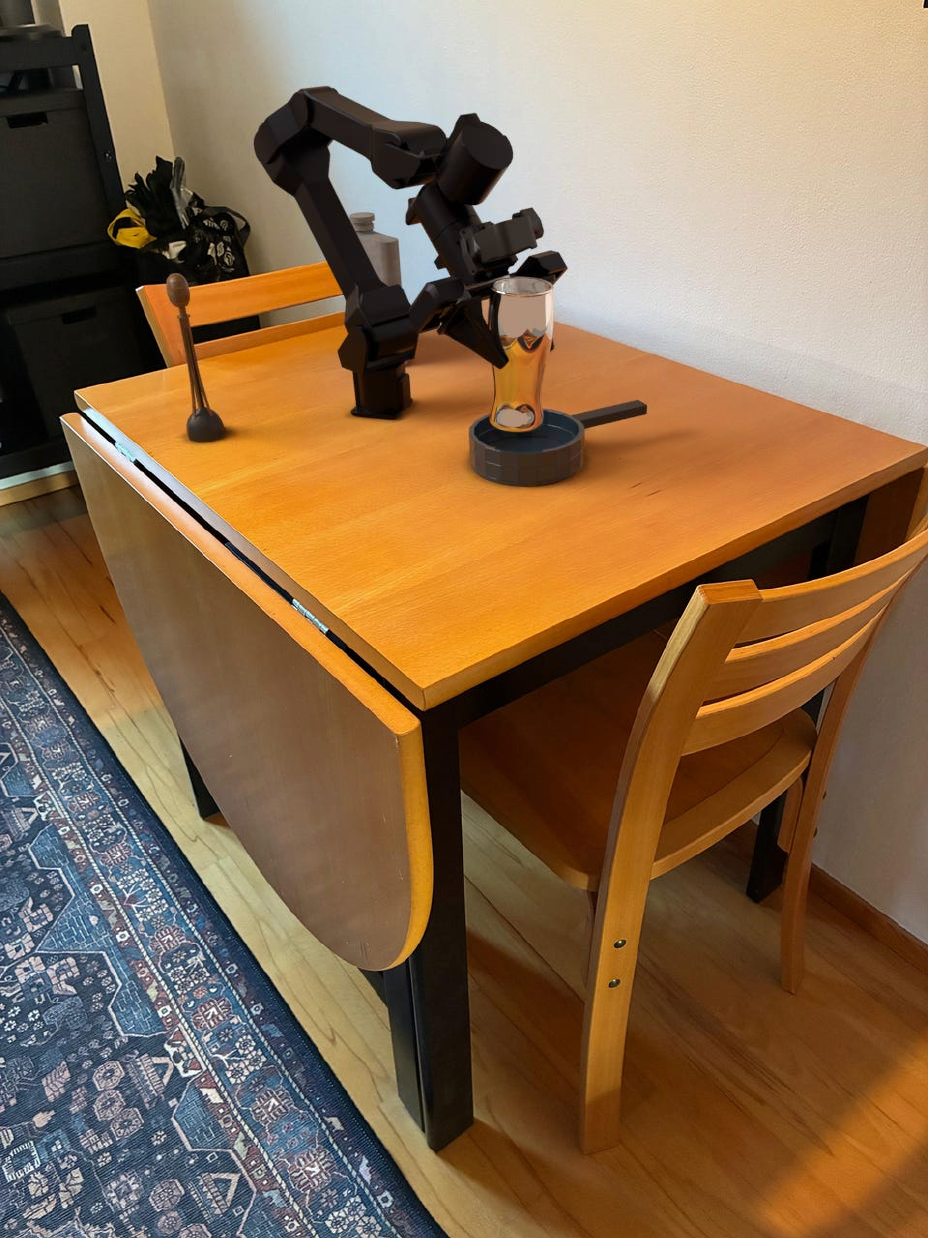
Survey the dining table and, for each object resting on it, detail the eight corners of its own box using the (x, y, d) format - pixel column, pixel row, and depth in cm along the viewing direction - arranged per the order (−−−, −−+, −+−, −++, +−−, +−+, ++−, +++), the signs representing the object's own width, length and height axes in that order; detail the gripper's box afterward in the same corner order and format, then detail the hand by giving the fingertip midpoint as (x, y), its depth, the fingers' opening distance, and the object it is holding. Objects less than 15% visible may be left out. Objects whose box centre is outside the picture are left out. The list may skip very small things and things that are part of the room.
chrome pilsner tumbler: (524, 439, 104) (530, 299, 96) (473, 423, 108) (474, 286, 99) (559, 419, 109) (568, 283, 101) (509, 404, 113) (513, 272, 104)
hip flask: (411, 364, 143) (401, 220, 132) (386, 369, 141) (373, 224, 130) (366, 336, 155) (353, 202, 143) (342, 341, 153) (328, 206, 142)
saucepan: (454, 478, 110) (453, 446, 108) (489, 433, 121) (489, 403, 118) (567, 492, 106) (568, 458, 104) (594, 444, 117) (595, 412, 114)
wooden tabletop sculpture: (183, 428, 126) (150, 269, 115) (219, 421, 127) (189, 264, 116) (192, 444, 121) (158, 280, 110) (228, 437, 123) (198, 275, 111)
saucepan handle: (578, 430, 113) (578, 420, 113) (569, 424, 115) (569, 415, 114) (646, 414, 117) (647, 404, 116) (637, 408, 118) (637, 399, 118)
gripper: (419, 197, 92) (498, 338, 92) (558, 169, 102) (630, 297, 101) (377, 267, 102) (448, 396, 101) (507, 236, 112) (573, 352, 111)
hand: (527, 358), depth 103 cm, fingers closed on chrome pilsner tumbler, 7 cm apart
